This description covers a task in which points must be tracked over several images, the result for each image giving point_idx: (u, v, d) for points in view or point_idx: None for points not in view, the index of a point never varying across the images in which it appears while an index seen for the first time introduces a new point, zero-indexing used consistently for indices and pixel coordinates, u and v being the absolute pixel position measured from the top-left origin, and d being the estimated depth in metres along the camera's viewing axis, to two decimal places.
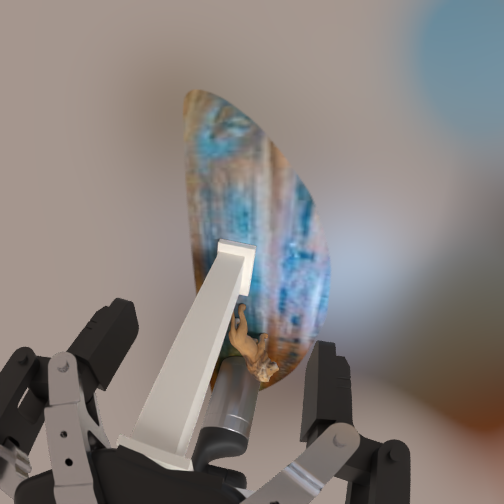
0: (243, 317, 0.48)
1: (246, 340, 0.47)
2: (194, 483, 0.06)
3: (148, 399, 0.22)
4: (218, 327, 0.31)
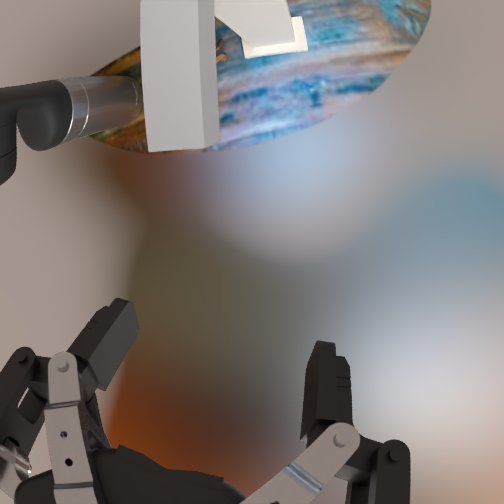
0: (218, 60, 0.33)
1: None
2: (194, 483, 0.06)
3: None
4: (288, 12, 0.19)
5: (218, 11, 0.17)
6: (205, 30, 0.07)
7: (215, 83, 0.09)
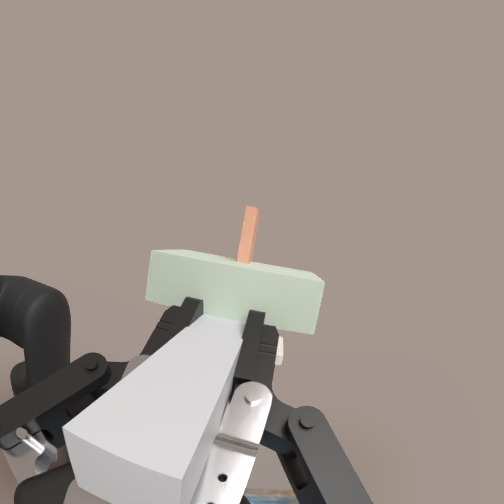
0: None
1: None
2: None
3: None
4: None
5: None
6: (226, 390, 0.07)
7: (206, 457, 0.05)
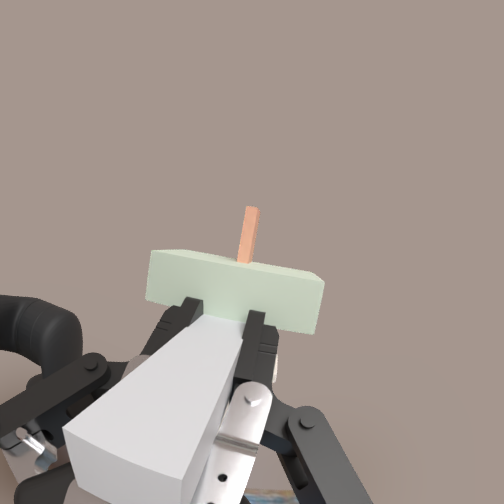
0: None
1: None
2: None
3: None
4: None
5: None
6: (226, 390, 0.07)
7: (206, 457, 0.05)
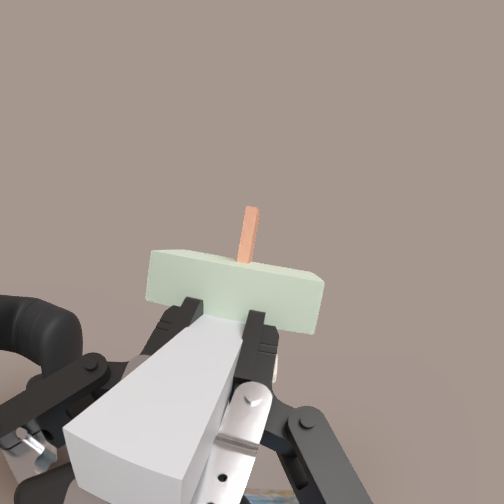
0: None
1: None
2: None
3: None
4: None
5: None
6: (226, 390, 0.07)
7: (206, 457, 0.05)
